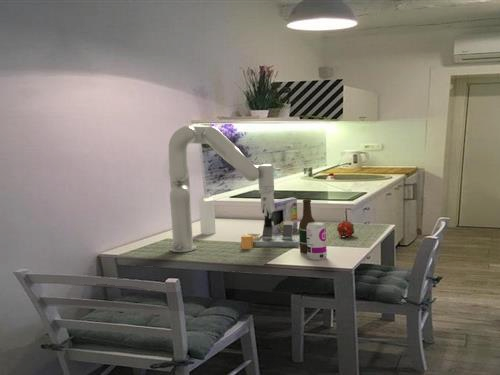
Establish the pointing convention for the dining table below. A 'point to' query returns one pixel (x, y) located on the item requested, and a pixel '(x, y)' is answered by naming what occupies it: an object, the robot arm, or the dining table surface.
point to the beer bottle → (305, 225)
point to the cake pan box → (284, 213)
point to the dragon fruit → (345, 229)
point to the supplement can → (316, 241)
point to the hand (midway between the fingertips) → (268, 226)
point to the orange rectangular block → (247, 241)
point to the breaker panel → (274, 241)
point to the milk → (207, 215)
